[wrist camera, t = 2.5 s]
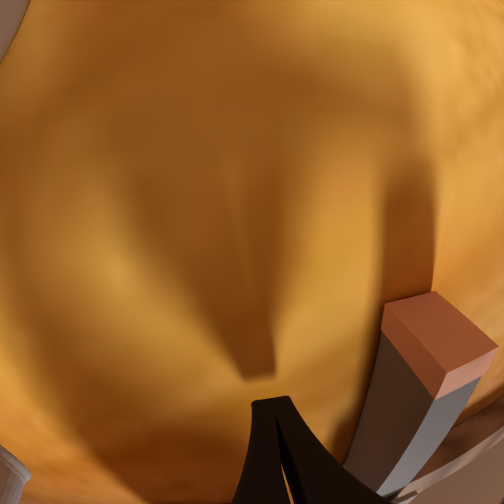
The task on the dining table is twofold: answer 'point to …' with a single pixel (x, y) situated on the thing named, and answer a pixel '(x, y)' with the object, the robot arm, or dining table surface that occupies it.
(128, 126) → the dining table surface
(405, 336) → the stool leg
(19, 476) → the glass holder
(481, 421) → the rail
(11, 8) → the mug
